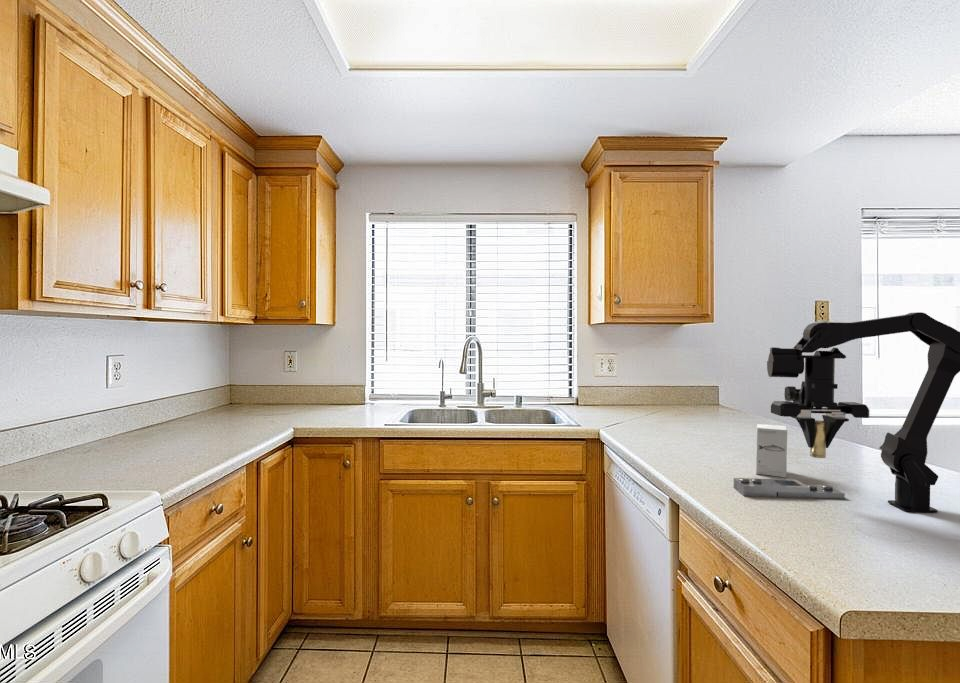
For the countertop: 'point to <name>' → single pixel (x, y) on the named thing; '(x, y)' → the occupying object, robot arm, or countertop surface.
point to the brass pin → (819, 440)
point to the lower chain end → (815, 493)
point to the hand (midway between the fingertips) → (818, 447)
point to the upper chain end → (768, 486)
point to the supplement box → (771, 450)
